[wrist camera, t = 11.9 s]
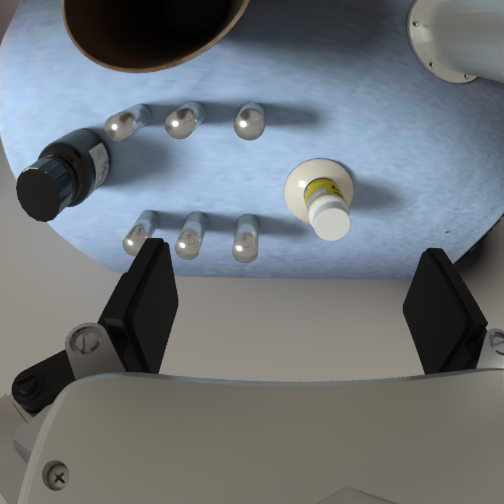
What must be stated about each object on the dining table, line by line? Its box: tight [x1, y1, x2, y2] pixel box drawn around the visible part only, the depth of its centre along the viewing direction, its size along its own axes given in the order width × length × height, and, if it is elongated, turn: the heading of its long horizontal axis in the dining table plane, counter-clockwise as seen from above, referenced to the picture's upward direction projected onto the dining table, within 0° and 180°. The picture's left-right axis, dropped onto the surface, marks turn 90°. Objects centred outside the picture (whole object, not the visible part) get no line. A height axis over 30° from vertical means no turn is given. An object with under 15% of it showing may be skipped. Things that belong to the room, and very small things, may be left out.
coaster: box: [284, 158, 354, 223], centre depth 40 cm, size 9×9×1 cm
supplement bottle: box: [304, 177, 351, 241], centre depth 37 cm, size 5×5×8 cm
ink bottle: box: [16, 129, 111, 222], centre depth 34 cm, size 10×9×12 cm
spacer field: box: [105, 101, 265, 263], centre depth 37 cm, size 17×18×7 cm
